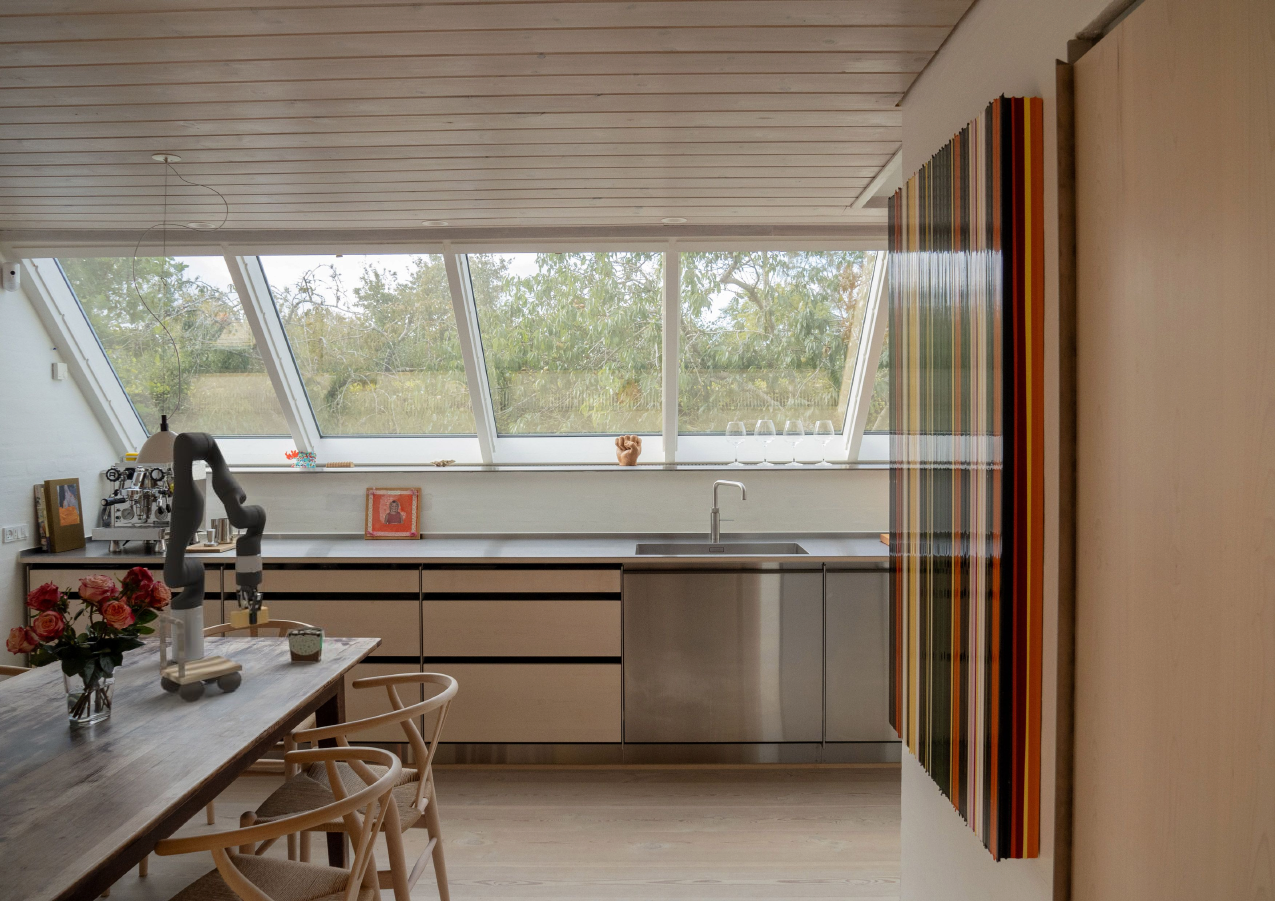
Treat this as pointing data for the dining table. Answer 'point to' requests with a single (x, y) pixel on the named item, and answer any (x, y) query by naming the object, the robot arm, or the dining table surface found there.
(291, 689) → the dining table surface
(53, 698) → the dining table surface
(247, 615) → the block
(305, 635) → the food container
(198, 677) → the trolley
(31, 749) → the dining table surface
